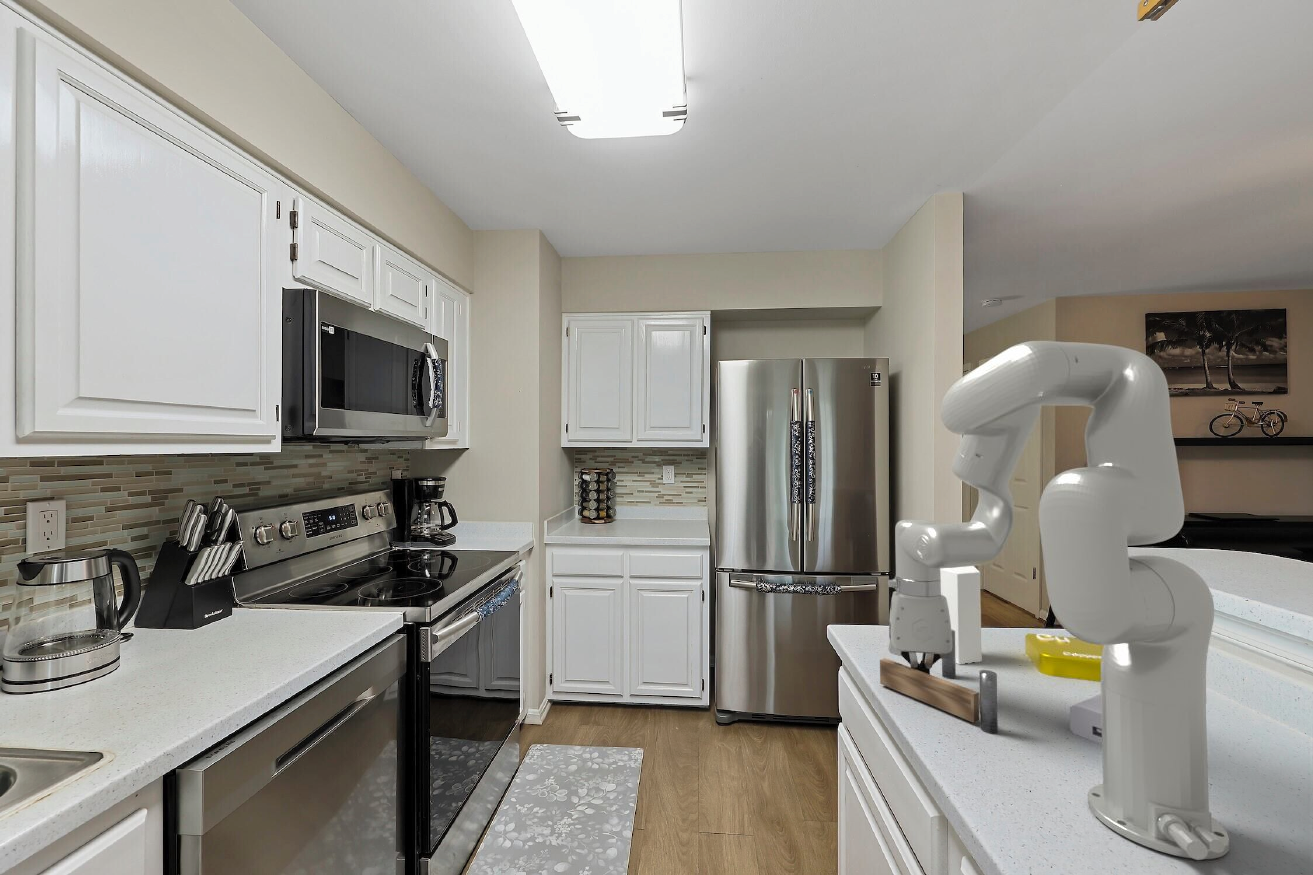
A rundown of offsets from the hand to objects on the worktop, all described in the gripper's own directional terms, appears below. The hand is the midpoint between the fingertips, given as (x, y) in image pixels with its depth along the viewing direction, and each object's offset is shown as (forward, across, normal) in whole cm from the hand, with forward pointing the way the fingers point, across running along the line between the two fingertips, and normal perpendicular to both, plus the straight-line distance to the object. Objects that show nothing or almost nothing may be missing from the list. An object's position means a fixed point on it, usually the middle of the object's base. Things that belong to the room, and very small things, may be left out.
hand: (920, 687), depth 105 cm
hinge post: (+1, +7, -13) cm, 15 cm away
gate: (+1, 0, -5) cm, 5 cm away
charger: (+2, +28, -9) cm, 30 cm away
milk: (+1, +12, +20) cm, 24 cm away
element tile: (+2, +34, +20) cm, 40 cm away
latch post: (+1, +7, +9) cm, 12 cm away
